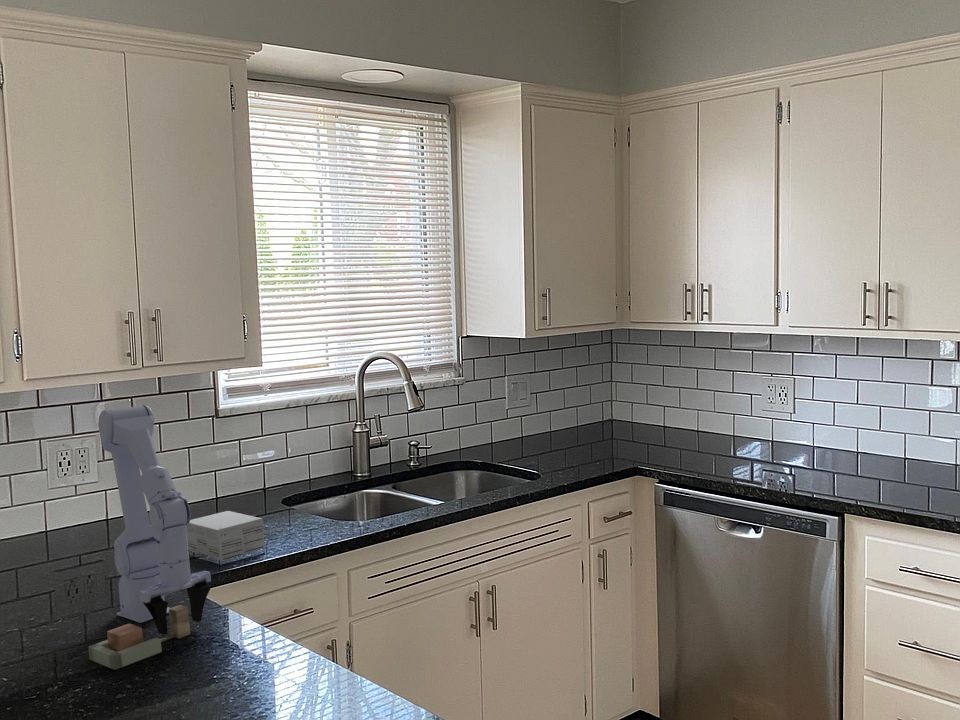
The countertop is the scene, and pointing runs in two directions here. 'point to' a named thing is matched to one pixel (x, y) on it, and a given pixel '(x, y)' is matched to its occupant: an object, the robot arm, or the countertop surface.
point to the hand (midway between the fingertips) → (180, 626)
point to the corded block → (133, 634)
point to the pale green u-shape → (123, 653)
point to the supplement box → (225, 535)
